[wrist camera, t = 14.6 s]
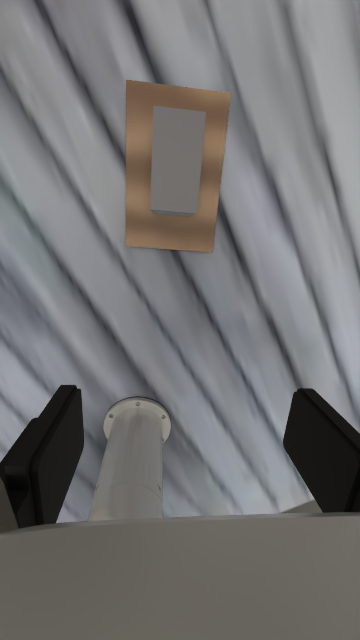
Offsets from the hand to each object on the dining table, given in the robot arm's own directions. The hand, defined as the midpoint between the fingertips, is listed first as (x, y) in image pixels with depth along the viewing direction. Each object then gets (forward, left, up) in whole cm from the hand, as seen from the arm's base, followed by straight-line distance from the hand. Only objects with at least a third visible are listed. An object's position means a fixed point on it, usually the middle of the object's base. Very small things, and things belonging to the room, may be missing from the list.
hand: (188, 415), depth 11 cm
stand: (+14, 0, -30) cm, 33 cm away
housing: (+14, 0, -27) cm, 31 cm away
